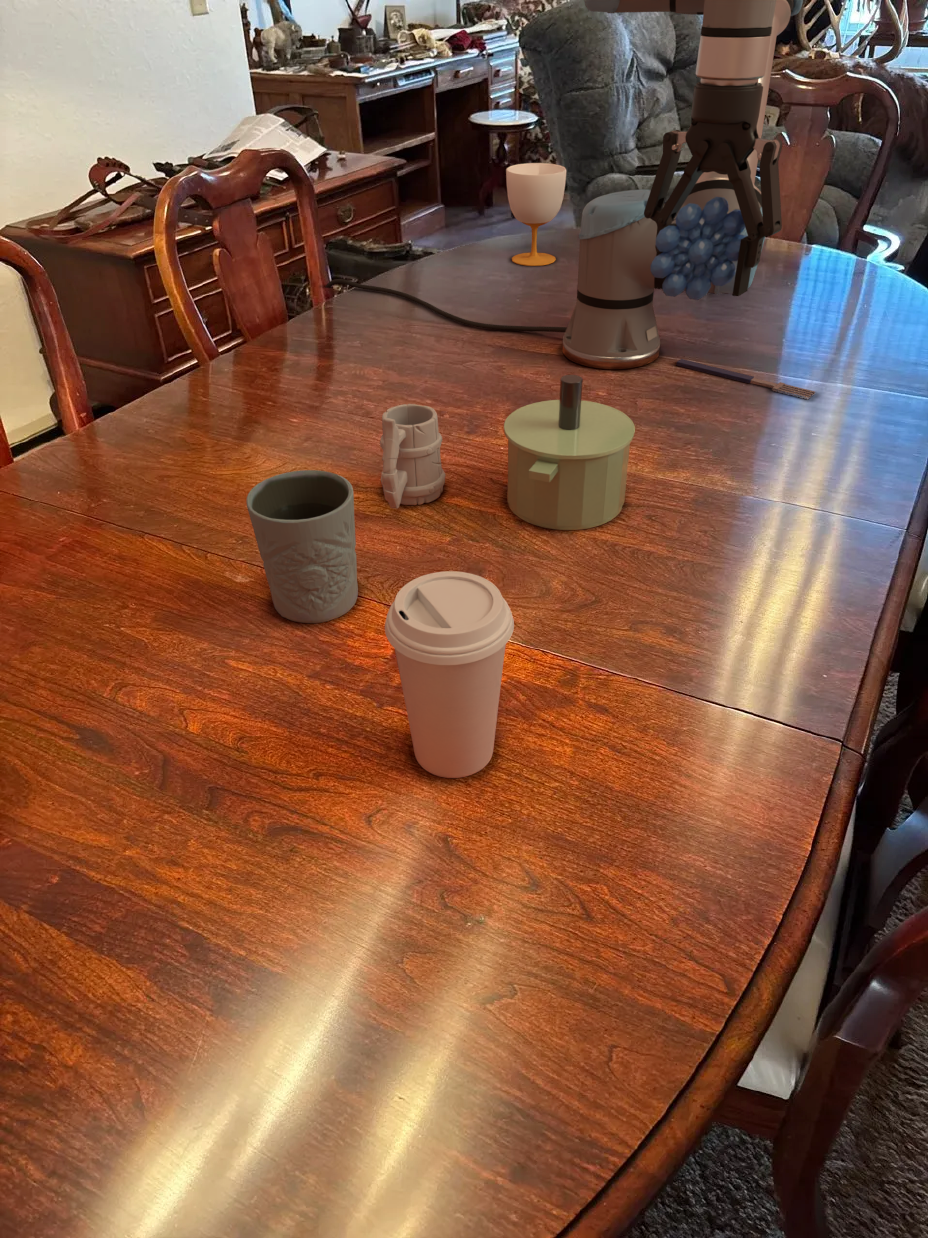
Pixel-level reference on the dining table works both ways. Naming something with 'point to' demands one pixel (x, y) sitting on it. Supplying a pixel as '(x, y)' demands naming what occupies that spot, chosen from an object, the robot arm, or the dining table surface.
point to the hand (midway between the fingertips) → (701, 286)
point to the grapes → (699, 249)
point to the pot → (566, 488)
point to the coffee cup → (450, 667)
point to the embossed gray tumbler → (307, 543)
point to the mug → (411, 455)
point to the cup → (535, 202)
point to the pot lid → (569, 426)
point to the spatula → (747, 379)
